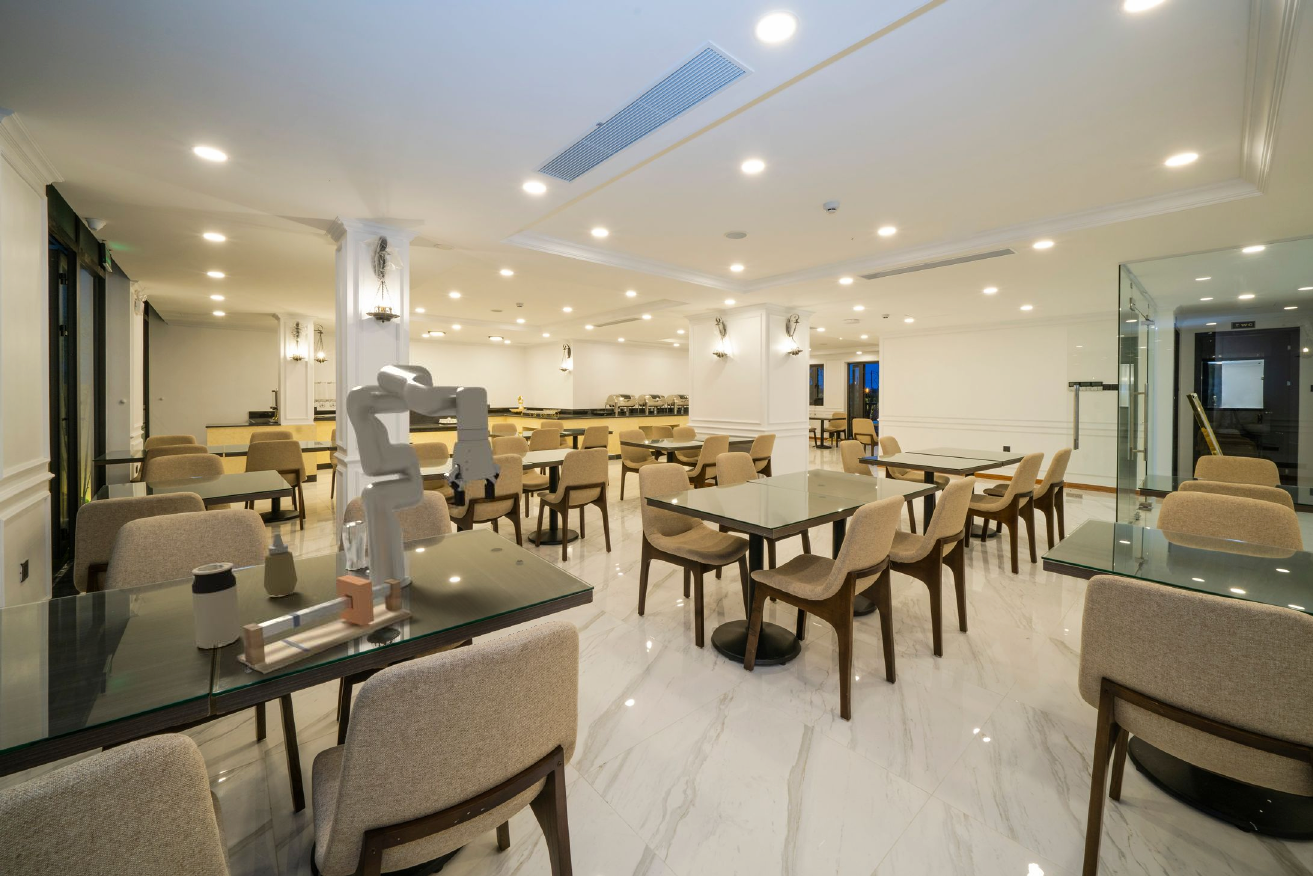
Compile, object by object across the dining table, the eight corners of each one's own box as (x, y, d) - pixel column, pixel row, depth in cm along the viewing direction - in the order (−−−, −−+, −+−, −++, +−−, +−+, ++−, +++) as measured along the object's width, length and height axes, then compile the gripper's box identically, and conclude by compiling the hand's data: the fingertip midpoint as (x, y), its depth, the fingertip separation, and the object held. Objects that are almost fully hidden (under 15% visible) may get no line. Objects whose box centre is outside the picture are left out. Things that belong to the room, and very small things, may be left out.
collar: (338, 617, 137) (336, 578, 136) (350, 613, 140) (348, 574, 139) (362, 625, 132) (359, 585, 131) (373, 621, 134) (371, 581, 134)
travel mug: (205, 653, 123) (198, 575, 121) (191, 645, 127) (184, 569, 125) (246, 639, 129) (240, 565, 128) (231, 632, 134) (226, 560, 132)
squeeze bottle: (257, 597, 156) (253, 535, 155) (286, 588, 164) (282, 529, 162) (276, 601, 153) (272, 538, 152) (304, 591, 161) (300, 531, 159)
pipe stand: (237, 660, 119) (234, 622, 119) (383, 607, 148) (382, 576, 148) (264, 674, 113) (261, 634, 112) (411, 615, 142) (410, 584, 142)
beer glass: (344, 572, 178) (341, 527, 177) (344, 566, 184) (342, 522, 183) (368, 569, 181) (365, 524, 180) (368, 563, 187) (365, 520, 186)
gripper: (488, 432, 148) (490, 495, 150) (434, 438, 133) (437, 507, 135) (508, 433, 144) (510, 498, 146) (455, 439, 130) (457, 510, 131)
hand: (475, 502), depth 140 cm, fingers open, 9 cm apart
